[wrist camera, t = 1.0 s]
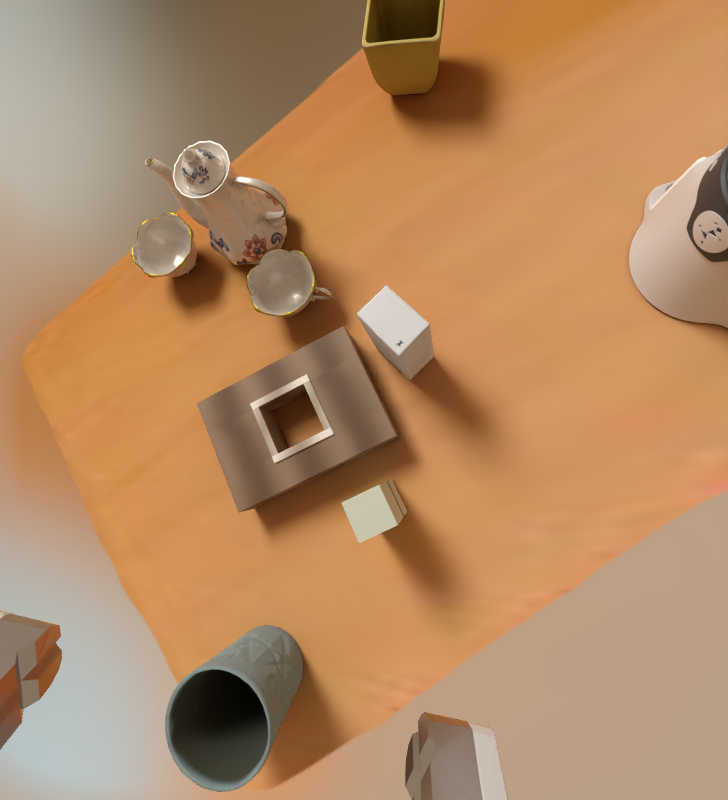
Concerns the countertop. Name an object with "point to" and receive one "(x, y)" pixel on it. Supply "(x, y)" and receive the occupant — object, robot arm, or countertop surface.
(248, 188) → the chinaware
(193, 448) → the countertop surface
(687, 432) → the countertop surface
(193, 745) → the blue-grey embossed planter
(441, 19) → the flower pot
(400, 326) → the skincare box
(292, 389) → the socket board
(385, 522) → the sage peg
